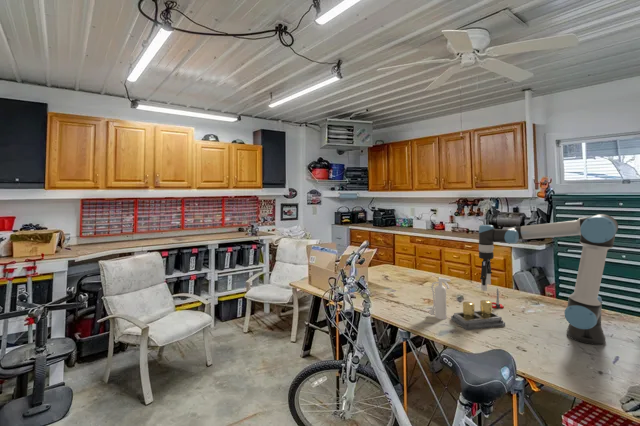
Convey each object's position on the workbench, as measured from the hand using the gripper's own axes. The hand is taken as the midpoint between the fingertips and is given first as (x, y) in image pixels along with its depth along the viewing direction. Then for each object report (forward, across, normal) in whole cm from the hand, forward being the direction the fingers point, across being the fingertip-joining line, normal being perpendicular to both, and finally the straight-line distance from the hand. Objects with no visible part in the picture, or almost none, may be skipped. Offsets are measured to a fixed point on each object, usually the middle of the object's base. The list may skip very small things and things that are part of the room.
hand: (486, 287), depth 180 cm
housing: (+21, -4, +4) cm, 21 cm away
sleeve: (+19, 0, 0) cm, 19 cm away
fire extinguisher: (+21, -8, +25) cm, 33 cm away
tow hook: (+21, +31, -1) cm, 37 cm away
